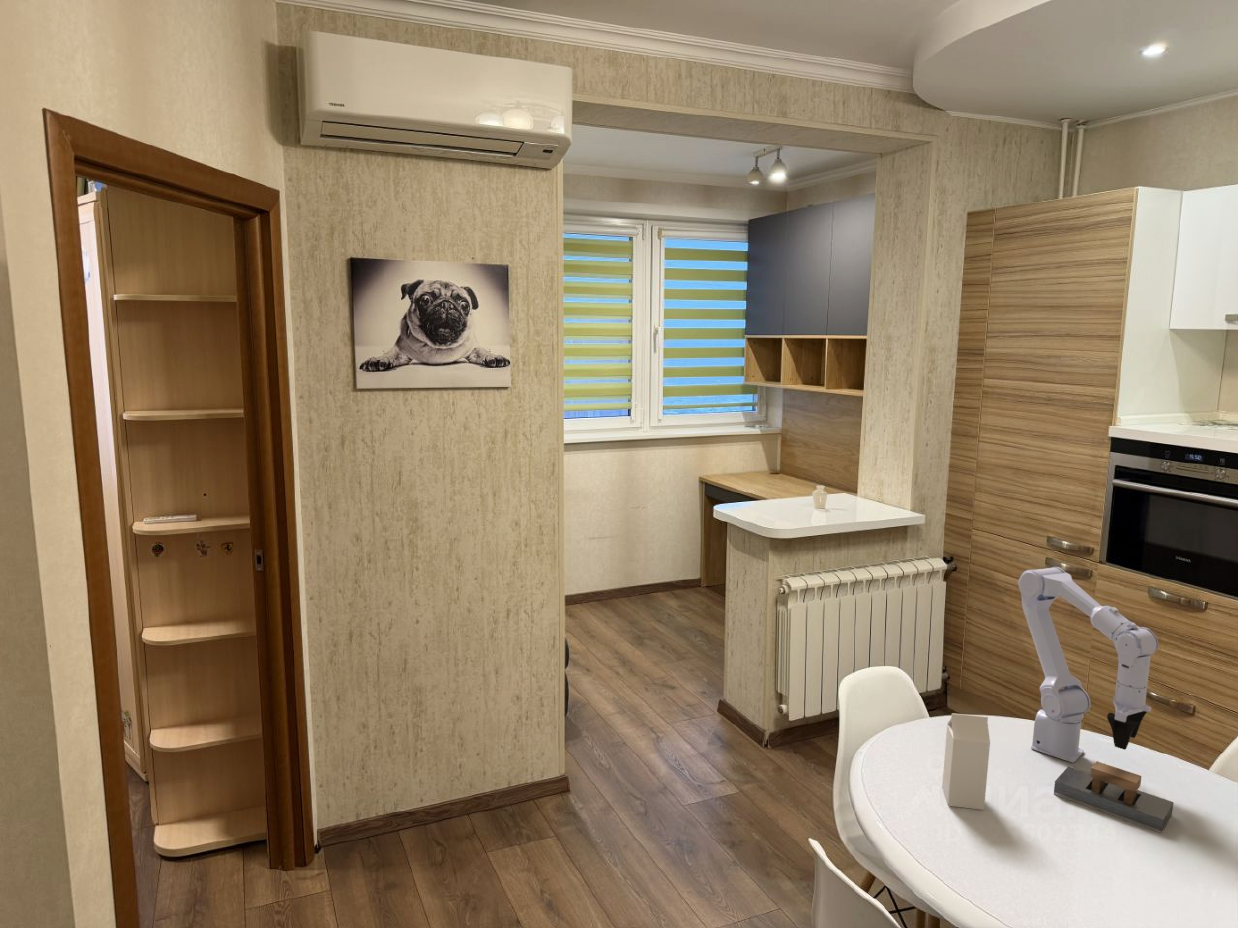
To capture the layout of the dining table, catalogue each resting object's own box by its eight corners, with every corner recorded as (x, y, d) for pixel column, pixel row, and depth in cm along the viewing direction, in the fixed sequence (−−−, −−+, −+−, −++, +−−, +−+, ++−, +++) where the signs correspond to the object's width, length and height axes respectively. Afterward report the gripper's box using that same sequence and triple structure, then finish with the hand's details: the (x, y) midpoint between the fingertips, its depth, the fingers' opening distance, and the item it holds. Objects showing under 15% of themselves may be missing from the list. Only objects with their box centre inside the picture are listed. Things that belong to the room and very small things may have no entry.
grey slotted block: (1053, 793, 178) (1055, 780, 178) (1066, 778, 184) (1068, 766, 184) (1161, 833, 164) (1163, 819, 164) (1171, 815, 171) (1173, 802, 170)
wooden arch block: (1087, 798, 176) (1091, 767, 175) (1093, 791, 179) (1096, 761, 178) (1132, 814, 170) (1136, 782, 169) (1137, 806, 173) (1141, 775, 172)
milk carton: (984, 810, 171) (991, 724, 168) (947, 806, 173) (955, 720, 170) (976, 792, 178) (983, 709, 175) (941, 788, 180) (948, 706, 177)
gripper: (1144, 698, 171) (1137, 759, 174) (1161, 679, 182) (1154, 737, 184) (1106, 688, 176) (1100, 747, 178) (1124, 670, 187) (1118, 726, 189)
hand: (1125, 741), depth 181 cm, fingers open, 7 cm apart
